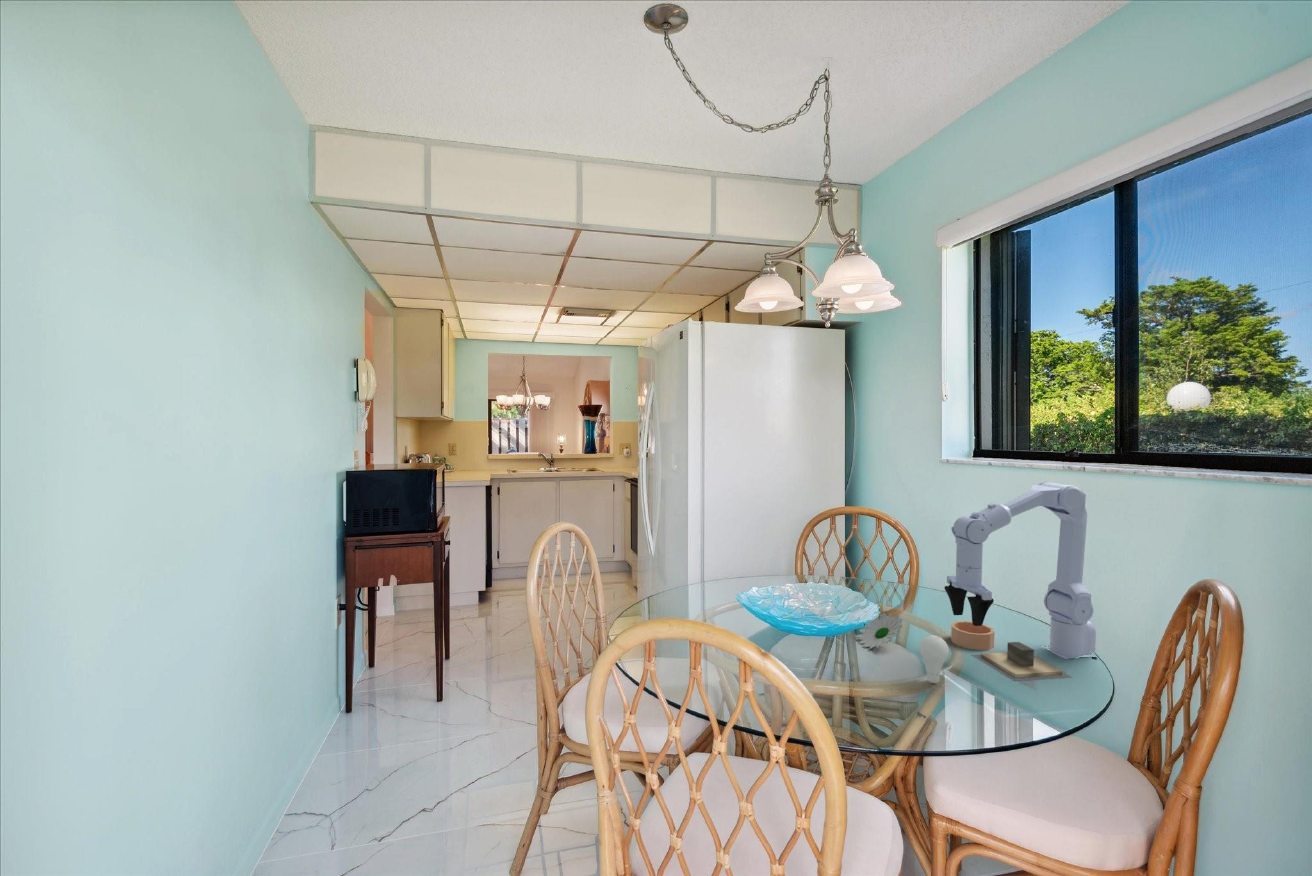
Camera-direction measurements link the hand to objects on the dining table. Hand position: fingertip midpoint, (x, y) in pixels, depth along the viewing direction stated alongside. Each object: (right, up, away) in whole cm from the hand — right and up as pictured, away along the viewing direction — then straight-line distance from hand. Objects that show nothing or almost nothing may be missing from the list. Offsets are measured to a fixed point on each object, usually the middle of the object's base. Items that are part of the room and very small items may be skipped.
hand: (967, 620), depth 152 cm
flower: (-17, -10, +18) cm, 27 cm away
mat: (+11, -10, -4) cm, 15 cm away
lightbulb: (-14, -11, -13) cm, 22 cm away
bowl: (+7, -10, +11) cm, 16 cm away
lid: (+11, -10, -4) cm, 15 cm away
